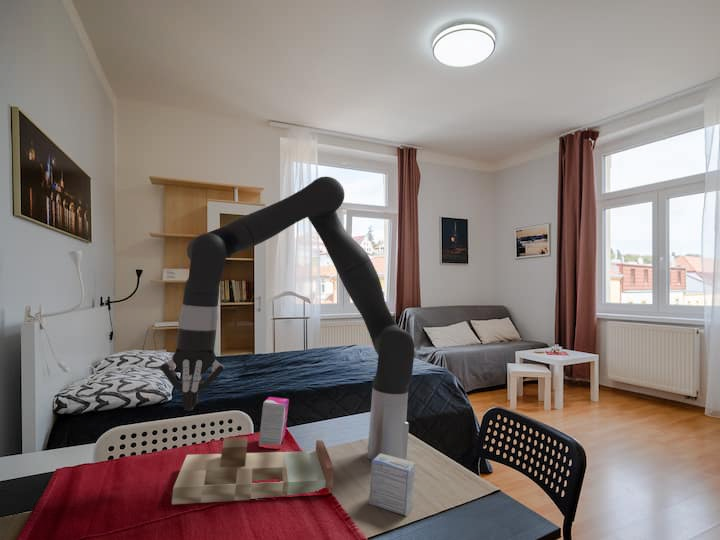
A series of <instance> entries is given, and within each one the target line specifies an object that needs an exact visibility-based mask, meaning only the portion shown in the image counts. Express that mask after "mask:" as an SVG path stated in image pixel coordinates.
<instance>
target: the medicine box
mask: <svg viewBox="0 0 720 540" xmlns="http://www.w3.org/2000/svg"><path fill="white" fill-rule="evenodd" d="M370 469H371V470H370V472H371V473H370V485H369V486H370V487H369V497H368V498H369V500H368V503H369V505H372V506H374V507H379V508H380V509H384V510H387V511H389V512H392V513H397V514H400V515H403V516H405V517H406V516H408V515H409V512H410V511H411V509H412V508H413V506H414V492H415V491H414V490H415V476H416V475H415V474H416V462H414V461H411V460H407V459H406V460H404V459H400V458H397V457H393V456H389V455H385V454H381V453H380V454H379V455H378V456H377V457H376V458H375V459H374V460H373V461H371V468H370Z"/></svg>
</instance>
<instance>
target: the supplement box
mask: <svg viewBox="0 0 720 540" xmlns="http://www.w3.org/2000/svg"><path fill="white" fill-rule="evenodd" d="M289 403H290V399H289V398H284V397H283V398H282V397H275V396H268V397H267V398H266V399H265V400H264V401H263V403H262V404H263V405H262V411H261V412H262V413H261V420H260V421H261V422H260V429H259V438H258V445H259V444H265V445H266V444H267V445H273V444H276V445H280V444H281V442H282V440H283V438H284V436H286V430H287V420H288V410H289Z"/></svg>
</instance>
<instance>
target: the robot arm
mask: <svg viewBox="0 0 720 540" xmlns="http://www.w3.org/2000/svg"><path fill="white" fill-rule="evenodd" d="M344 199H345V190H344V187H343V185H342V183H340V181H339V180H337V179H336V178H334V177H332V176H320V177H318V178H316V179H314V180H313V181H311V182H310V183H309V184H308V185H307V186H305V187H303V188H302V189H300V190H298V191H297V192H295V193H293V194H291V195H289V196H288V197H286V198H283V199H281V200H279V201H277V202H275V203H273V204H271V205H268V206H265V207H262V208H261V209H258V210H256V211H253V212H251V213H249V214H246V215H244V216H241V217H239V218H237V219H235V220H233V221H231V222H229V223H228V224H226V225H224V226H221V227H219V228H216V229H214V230H211V231H209V232H205V233H202V234H200V235H198V236H195V237H194V238H192V239H191V240H190V241H189V243H188V245H187V247H186V248H187V249H186V253H187V257H188V260H189V261H190V264H189V271H188V277H187V280H186V281H185V284H184V289H183V297H182V306H181V310H180V313H179V319H178V327H177V328H178V329H177V338H176V348H175V352H174V353H173V355H172V358H171V359H169V360H168V361H165V362H163V364H161V365H160V370H161V371H162V373H163V374H164V376H165V377H166V378H167V380H168V381H169V383H170V384H171V386H173V388H174V389H175V390H178V389H179V390H180V391H182V399H181V400H182V401H181V407H182V408H184V411H192V410H193V409H194V408H196V406H197V404H198V399H199V392H200V391H202V390H206V389H207V388H208V387H209V386H210V385H211V384H212V383H213V382H214V381H215V380H216V379H217V377H218V376H220V374H221V373H222V372H223V371H224V369H225V365H224V364H223V363H220V362H219V361H218V360H217V357H216V354H215V347H216V346H215V345H216V336H217V328H218V319H219V318H218V317H219V315H218V314H219V313H218V311H219V309H218V306H219V299H220V286H221V282H222V277H223V274H224V269H225V265H226V260H227V258H228V257H230V256H232V255H234V254H236V253H238V252H241V251H245V250H248V249H250V248H252V247H255V246H257V245H260V244H261V243H263V242H266V241H267V240H270V239H271V238H273V237H275V236H276V235H278V234H280V233H283V231H285V230H287V229H289V228H290V227H291V226H293V225H295V224H296V223H299V222H301V221H302V220H304V219H306V218H308V220H309V222H310V223H311V225H312V226H313V229H315V231H316V233H317V234H318V236H319V238H320V240H321V242H322V243H323V245H324V247H325V250H326V251H327V254H328V256H329V258H330V259H331V262H332V263H333V266H334V267H335V269H336V272H337V274H338V276H339V278H340V281H341V283H342V284H343V287H344V289H345V291H346V292H347V295H349V297H350V299H351V301H352V302H353V305H354V306H355V308H356V309H357V310H358V312H359V314H360V316H361V317H362V319H363V322H364V324H365V326H366V330H367V331H368V334H369V337H370V340H371V343H372V345H373V348H374V351H375V352H376V354H377V355H378V356H377V365H376V373H375V376H374V377H373V379H372V388H371V389H372V391H371V404H370V417H369V429H368V442H367V459H369V460H370V462H372V461H373V460H374V459H375V458H376V457H377V456H378V455H379V454H380V453H381V454H385V455H389V456H393V457H397V458H400V459H404V460H407V453H408V440H409V427H410V423H409V422H408V421H407V414H408V413H407V412H408V399H409V389H410V388H409V387H410V384H411V381H412V378H413V372H414V371H413V370H414V360H415V342H414V339H413V337H412V335H411V334H410V333H409V332H408V330H407V331H406V330H405V329H404V328H401V327H400V326H399V325H398V323H397V322H396V320H395V319H394V317H393V315H392V314H391V312H390V310H389V308H388V305H387V303H386V301H385V295H384V291H383V287H382V283H381V280H380V277H379V274H378V272H377V270H376V268H375V265H374V264H373V262H372V260H371V258H370V256H369V254H368V253H367V251H366V250H365V249H364V248H363V247H362V246H361V245H360V244H359V243H358V242H357V241H356V240H355V239H354V238H353V237H352V236H351V235H350V234H349V233H348V232H347V230H346V229H345V227H344V226H343V223H342V222H341V220H340V218H339V215H338V213H337V210H339V208H340V207H342V204H343V203H344ZM211 366H212V367H211ZM175 367H176V368H177V369H178V371H179V372H180V373H181V374H182V379H181V378H180V376H179V375H178V374H177V373H176V371H175V369H176V368H175ZM210 367H211V372H210V374H209V375H208V376H207V377H206V378H205V380H204V381H202V382H201V380H202V375H203V374H205V373H206V371H208V369H210ZM192 375H193V378H192Z"/></svg>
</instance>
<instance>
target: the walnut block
mask: <svg viewBox="0 0 720 540" xmlns="http://www.w3.org/2000/svg"><path fill="white" fill-rule="evenodd" d="M247 448H248V437H224V438H223V442H222V446H221V453H220V454H221V464H220V467H239V466H245V462H246V453H248V452H247V451H248V449H247Z"/></svg>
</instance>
